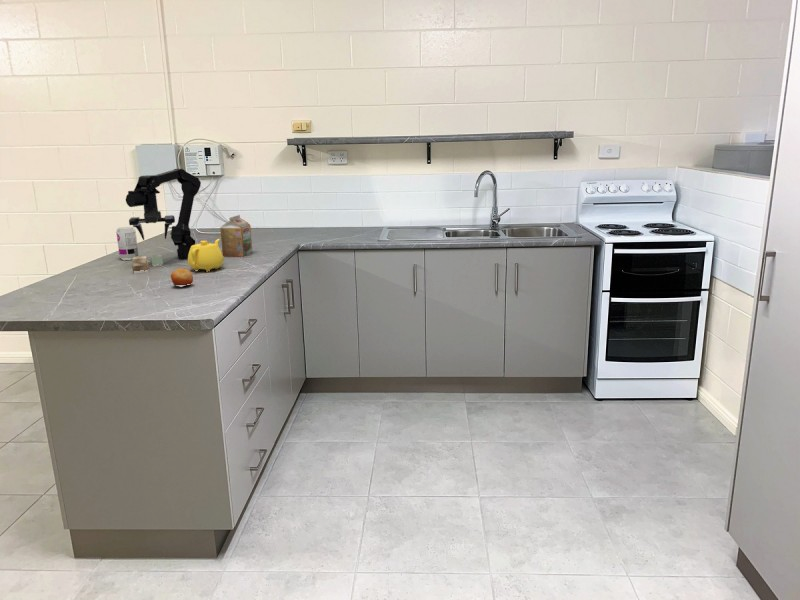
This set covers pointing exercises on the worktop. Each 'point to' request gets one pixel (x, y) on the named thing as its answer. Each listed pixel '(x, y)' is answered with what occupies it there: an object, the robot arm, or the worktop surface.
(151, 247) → the worktop surface
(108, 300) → the worktop surface
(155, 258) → the sage cube
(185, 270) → the fruit
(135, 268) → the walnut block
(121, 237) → the supplement can
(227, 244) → the milk carton
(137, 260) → the maple block
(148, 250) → the worktop surface
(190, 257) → the teapot
